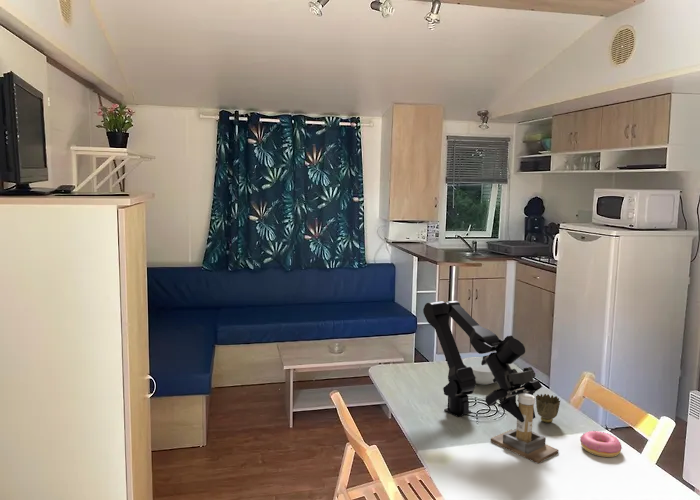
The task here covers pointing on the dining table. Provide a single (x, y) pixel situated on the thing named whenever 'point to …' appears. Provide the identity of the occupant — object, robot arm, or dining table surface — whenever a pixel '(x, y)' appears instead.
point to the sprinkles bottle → (525, 417)
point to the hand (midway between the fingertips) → (528, 420)
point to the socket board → (526, 446)
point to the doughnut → (600, 444)
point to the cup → (547, 407)
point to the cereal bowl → (479, 370)
